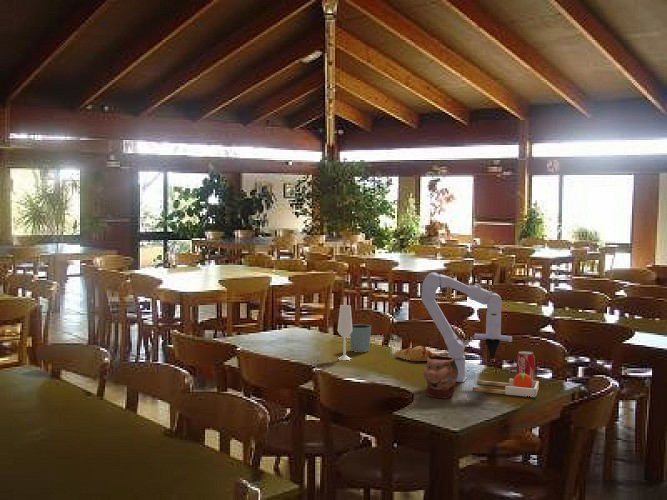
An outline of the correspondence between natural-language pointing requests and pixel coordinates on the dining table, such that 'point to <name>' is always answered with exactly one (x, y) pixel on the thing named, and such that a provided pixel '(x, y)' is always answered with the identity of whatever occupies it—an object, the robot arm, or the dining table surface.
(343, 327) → the champagne flute
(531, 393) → the white arch
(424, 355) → the croissant
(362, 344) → the drinking glass
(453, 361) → the decorative planter
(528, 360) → the soda can
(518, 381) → the clementine
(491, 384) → the lane rails
